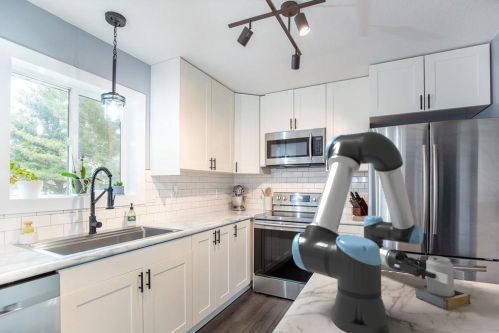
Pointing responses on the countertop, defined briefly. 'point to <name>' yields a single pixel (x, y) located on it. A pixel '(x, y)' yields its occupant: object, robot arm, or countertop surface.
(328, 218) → the robot arm
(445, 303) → the open rectangular tray
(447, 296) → the can
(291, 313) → the countertop surface
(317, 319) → the countertop surface
